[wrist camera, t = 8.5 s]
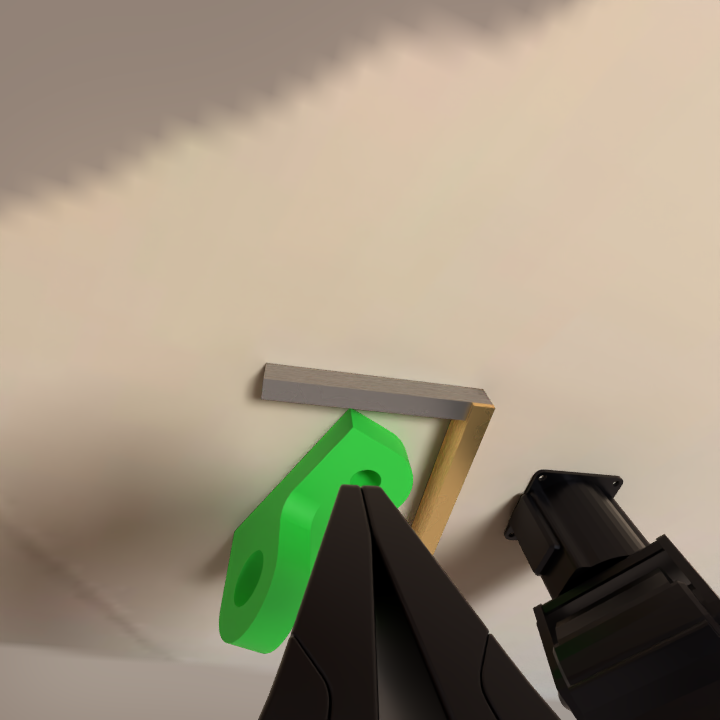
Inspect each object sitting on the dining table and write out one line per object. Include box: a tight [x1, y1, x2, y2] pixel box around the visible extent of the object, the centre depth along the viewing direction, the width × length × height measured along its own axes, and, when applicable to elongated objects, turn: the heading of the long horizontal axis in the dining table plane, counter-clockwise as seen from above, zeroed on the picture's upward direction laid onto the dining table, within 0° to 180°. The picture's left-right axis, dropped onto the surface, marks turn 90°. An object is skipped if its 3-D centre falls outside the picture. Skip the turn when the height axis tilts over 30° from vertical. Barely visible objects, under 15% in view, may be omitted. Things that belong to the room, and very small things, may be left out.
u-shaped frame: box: [261, 363, 495, 555], centre depth 26 cm, size 12×17×2 cm
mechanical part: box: [219, 408, 413, 654], centre depth 24 cm, size 12×6×8 cm, turn 141°
